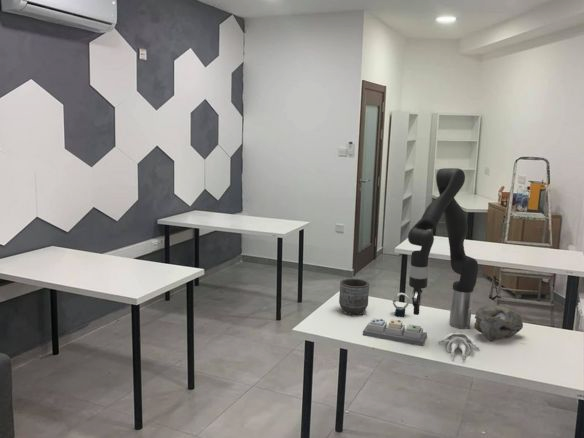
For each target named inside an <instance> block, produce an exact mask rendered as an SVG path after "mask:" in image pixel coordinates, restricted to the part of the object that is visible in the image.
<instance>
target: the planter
mask: <svg viewBox="0 0 584 438" xmlns="http://www.w3.org/2000/svg"><path fill="white" fill-rule="evenodd" d="M369 292H370V283H369V281H367V280H365V279H362V278H351V277H350V278H348V277H347V278H343V279H341V280H340V283H339V295H338V296H339V299H338V302H339V305H340V307H341V310H342V311H343V313H345V314H348V315H351V316H352V315H353V316H357V315H358V316H359V315H362V314H363V313H364V312H365V310H366V309H367V307H368V306H369V294H370V293H369Z"/></svg>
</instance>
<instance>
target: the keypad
mask: <svg viewBox="0 0 584 438" xmlns="http://www.w3.org/2000/svg"><path fill="white" fill-rule="evenodd" d="M372 320H373V318H372V319H370V320H369V322H368V323H367V325H366V326H365V327H364V329H363V330H362V336H367V337H371V338H375V339H381V340H387V341H393V342H397V343H403V344H410V345H413V346H419V347H424V345H425V342H426V339H427V336H428V332H426V331H424V328H423V327H421V331H420V333H417V332H411V331H407V328H408V326H409V324H408V325H407V326H406V325H405V324H402V328H401V330H400V329H394V328H389V323H388V322H387V321H386V320H384V325H383V326H378V325H372V324H371V321H372ZM387 323H388V324H387ZM405 326H406V327H405Z"/></svg>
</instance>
